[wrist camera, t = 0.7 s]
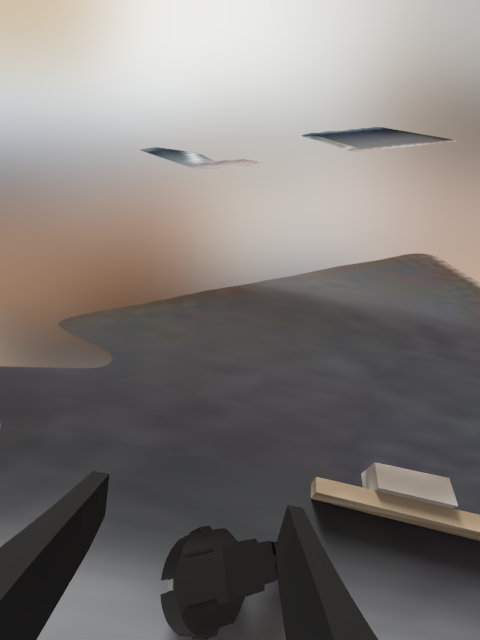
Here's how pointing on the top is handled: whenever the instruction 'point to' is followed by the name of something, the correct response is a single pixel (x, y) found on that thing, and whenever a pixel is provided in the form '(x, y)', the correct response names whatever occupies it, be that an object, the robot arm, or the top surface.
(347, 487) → the guide channel
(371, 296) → the top surface
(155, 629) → the top surface
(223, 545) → the power plug
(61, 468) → the top surface
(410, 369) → the top surface
